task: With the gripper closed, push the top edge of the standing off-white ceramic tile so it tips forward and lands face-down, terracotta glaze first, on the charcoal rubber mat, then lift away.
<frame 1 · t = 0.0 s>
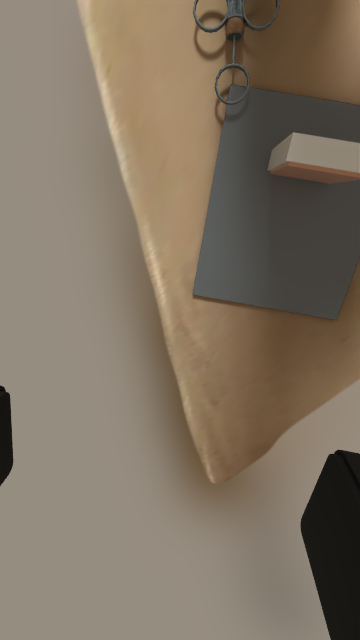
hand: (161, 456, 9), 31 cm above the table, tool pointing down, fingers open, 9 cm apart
mat: (288, 214, 35), on the table
tile: (302, 165, 33), resting on mat
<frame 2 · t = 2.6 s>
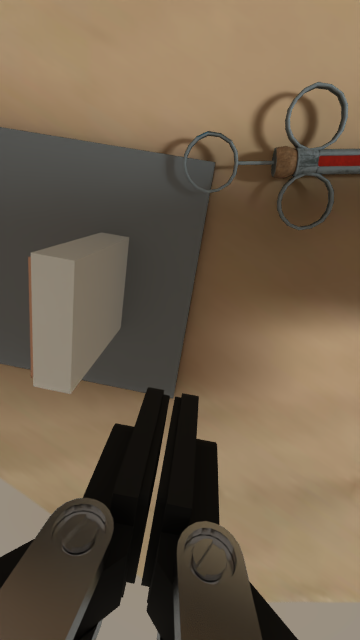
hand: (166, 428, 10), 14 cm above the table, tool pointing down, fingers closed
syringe: (330, 163, 19), on the table, touching mat
mat: (50, 269, 24), on the table
tile: (111, 282, 23), resting on mat
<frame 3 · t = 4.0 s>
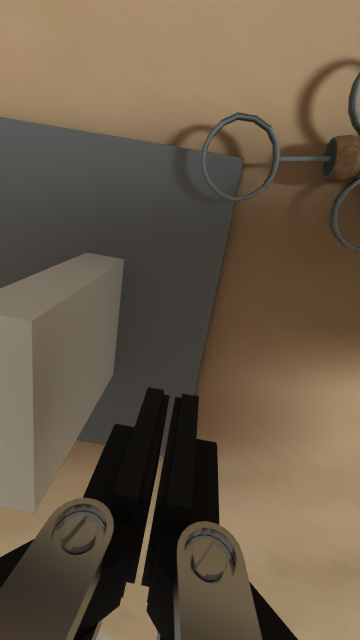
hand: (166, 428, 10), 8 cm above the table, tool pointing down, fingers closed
mat: (19, 299, 18), on the table
tile: (100, 317, 18), resting on mat
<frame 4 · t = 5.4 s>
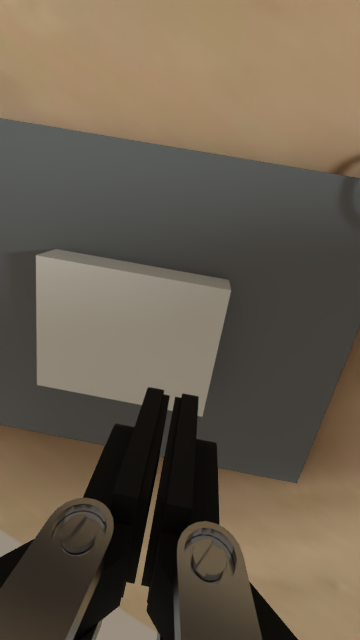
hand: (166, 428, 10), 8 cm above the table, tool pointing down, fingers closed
mat: (149, 323, 18), on the table
tile: (215, 349, 16), point 2 cm above the table, tilted 90°, touching mat
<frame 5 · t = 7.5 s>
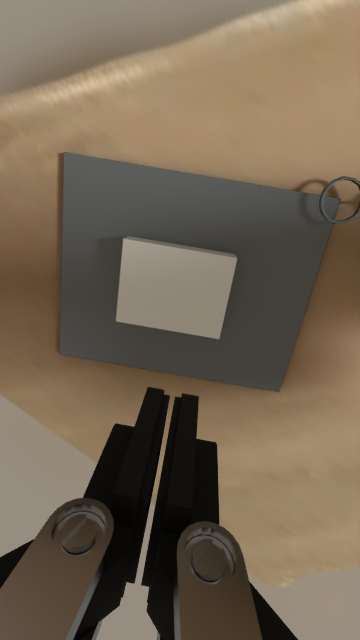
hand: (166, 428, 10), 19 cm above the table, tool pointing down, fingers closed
mat: (184, 284, 28), on the table
tile: (227, 297, 27), point 2 cm above the table, tilted 90°, touching mat
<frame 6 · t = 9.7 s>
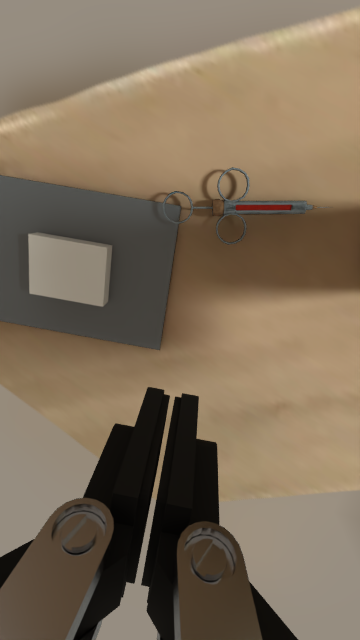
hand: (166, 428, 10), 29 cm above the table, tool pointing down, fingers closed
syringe: (245, 207, 35), on the table, touching mat
mat: (82, 267, 39), on the table
tile: (107, 276, 37), point 2 cm above the table, tilted 90°, touching mat
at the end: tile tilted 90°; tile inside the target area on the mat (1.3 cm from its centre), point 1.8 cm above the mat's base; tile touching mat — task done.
